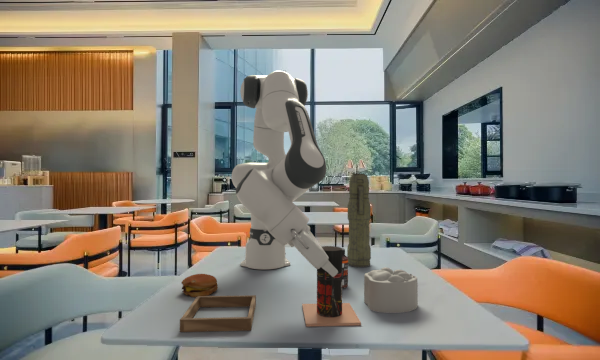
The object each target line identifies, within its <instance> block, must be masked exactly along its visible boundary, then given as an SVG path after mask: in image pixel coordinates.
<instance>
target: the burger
mask: <svg viewBox="0 0 600 360" xmlns="http://www.w3.org/2000/svg"><path fill="white" fill-rule="evenodd" d="M181 285H182V287H181V290H182V292H183V294H184V295H185V296H189V297H191V298H197V296H211V295H212V294H213V293H215V292H216V291H217V290H218V289H219V287H218V279H217V278H216V277H215V276H214V275H211V274H207V273H196V274H192V275H189V276H187V277H185V278H184V279H182V281H181Z"/></svg>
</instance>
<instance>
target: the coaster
mask: <svg viewBox="0 0 600 360" xmlns="http://www.w3.org/2000/svg"><path fill="white" fill-rule="evenodd" d="M302 312H303V317H304V322H305V327H309V328H310V327H340V326H341V327H344V326H345V327H346V326H347V327H349V326H362V322H361V320H360V318H359V316H358V315H357V314H356V312H355V309H354V308H353V307H352V305H351V303H350V302H342V315H340V316H338V317H323V316H320V315H318V314H317V303H302Z"/></svg>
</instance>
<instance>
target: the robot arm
mask: <svg viewBox="0 0 600 360" xmlns="http://www.w3.org/2000/svg"><path fill="white" fill-rule="evenodd" d="M239 91H240V98H241V100H242V103H243V105H244V106H246V107H247V108H250V109H255V114H254V123H253V141H252V145H253V147H254V149H255V150H256V151H257V152H258V153H260V154H261V155H263V156H265V157H267V158H268V161H267V162H244V163H239V164H236V165H235V166H234V168H233V169H232V172H231V176H230V178H231V182H232V184H233V186H234V187H235V195H236V197H237V199H238V201H239V202H240V203H241V205H242V206H243V207H244V208H245V210H246V211H248V213H249V214H250V228H249V240H248V241H247V242H246V243H245V253H244V254H245V255H244V258H245V259H244V260H242V261H241V262H240V266H241V267H246V268H249V269H253V270H275V269H280V268H283V267H288V266H291V262H290V260H288V259H287V257H286V245H289V246H290V247H291V248H293V247H294V248H295V249H297V251H298V252H299V253H300V254H301V255H302V257H303V258H305V259H306V261H307V262H309V264H310V265H312V267H314V268H315V269H316V270H317V269H319V268H320V267H322V268H323V269H324V270H325V271H327V272H328V273H329V274H330V275H331V276H332V277H334V276H335V275H336V274H337V273H338V270H337V269H336V268H335V267H334V266H333V265H332V264H331V263H330V262H329V260H328V259H329V257H328V255H327V254H326V253H325V251H324V250H323V248H322V245H321V243H320V242H319V241H318V239H317V238H316V236H314V234H313V233H312V232H311V227H310V225H308V223H309V220H310V218H309V217H308V216H307V215H306V214H305V213H304V212H303V211H302V210H301V208H299V207H298V206H297V205H296V204H295V203H294V202H295V201H296V200H297V199H298V198H300V197H301V196H302V195H304V194H305V193H306V192H307V191H308V190H309V189H311V188H312V187H315V185H317V184H319V183H320V182H322V181H323V180H324V179H325V177H326V174H327V162H326V160H325V156H324V154H323V153H322V151H321V149H320V147H319V144H318V142H317V139H316V135H315V132H314V131H315V130H314V129H313V125H312V122H311V118H310V115H309V113H308V110H307V107H305V106H306V103H307V101H308V95H309V93H308V92H309V91H308V87H307V84H306V82H305V81H304V80H303V79H300V78H297V77H295V78H293V77H292V75H291V74H289V72H287V71H283V70H275V71H272V72H270V73H269V74H267V75H256V74H251V75H247V76H246V77H245V78H244V79H243V81H242V83H241V85H240V90H239ZM285 133H288V136H289V140H290V146H289V148H288V150H287V152H285V142H284V141H285V139H284V138H285Z"/></svg>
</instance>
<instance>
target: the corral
mask: <svg viewBox="0 0 600 360" xmlns="http://www.w3.org/2000/svg"><path fill="white" fill-rule="evenodd" d="M256 305H257V295H251V294H250V295H245V294H244V295H208V296H197V297H195V299H194V300H193V302H192V303H191V304H190V306H189V307H188V308H187V310H185V312H184V313H183V315H182V316H181V318H180V319H179V332H180V333H193V332H194V333H195V332H196V333H197V332H199V333H200V332H235V331H237V332H239V331H240V332H241V331H242V332H243V331H244V332H245V331H252V327H253V323H254V316H255V311H256V307H257V306H256ZM235 307H236V308H241V307H242V308H243V307H244V308H245V307H249V311H248V315H247V316H236V317H235V316H234V317H233V316H231V317H228V316H227V317H195V315H197V313H198V311H199V309H200V308H235Z"/></svg>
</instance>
